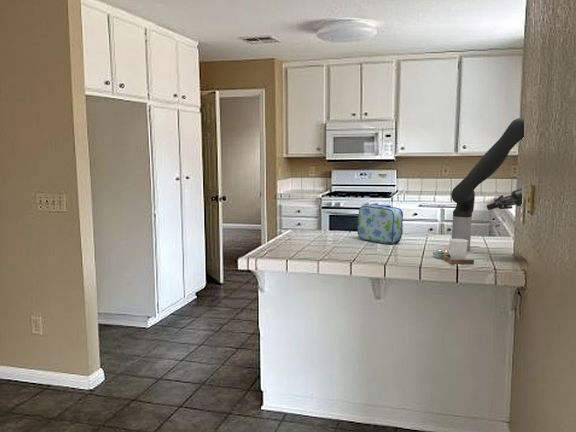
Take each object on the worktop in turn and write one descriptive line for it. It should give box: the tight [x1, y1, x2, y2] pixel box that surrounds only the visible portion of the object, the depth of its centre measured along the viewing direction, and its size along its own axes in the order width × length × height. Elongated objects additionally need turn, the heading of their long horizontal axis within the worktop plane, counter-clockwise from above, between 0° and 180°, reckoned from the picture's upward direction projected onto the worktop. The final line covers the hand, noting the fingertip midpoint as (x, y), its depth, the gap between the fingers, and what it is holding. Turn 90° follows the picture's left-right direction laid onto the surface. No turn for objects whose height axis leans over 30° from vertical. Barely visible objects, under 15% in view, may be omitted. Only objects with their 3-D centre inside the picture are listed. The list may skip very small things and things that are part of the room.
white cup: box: [449, 238, 468, 260], centre depth 239 cm, size 8×8×10 cm
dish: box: [432, 251, 450, 260], centre depth 248 cm, size 7×7×2 cm
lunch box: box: [357, 203, 404, 245], centre depth 288 cm, size 26×11×21 cm, turn 42°
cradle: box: [441, 255, 475, 266], centre depth 239 cm, size 12×10×2 cm
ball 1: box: [435, 249, 444, 254], centre depth 248 cm, size 3×3×3 cm
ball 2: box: [442, 249, 450, 254], centre depth 246 cm, size 3×3×3 cm
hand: (487, 207), depth 242 cm, fingers closed
